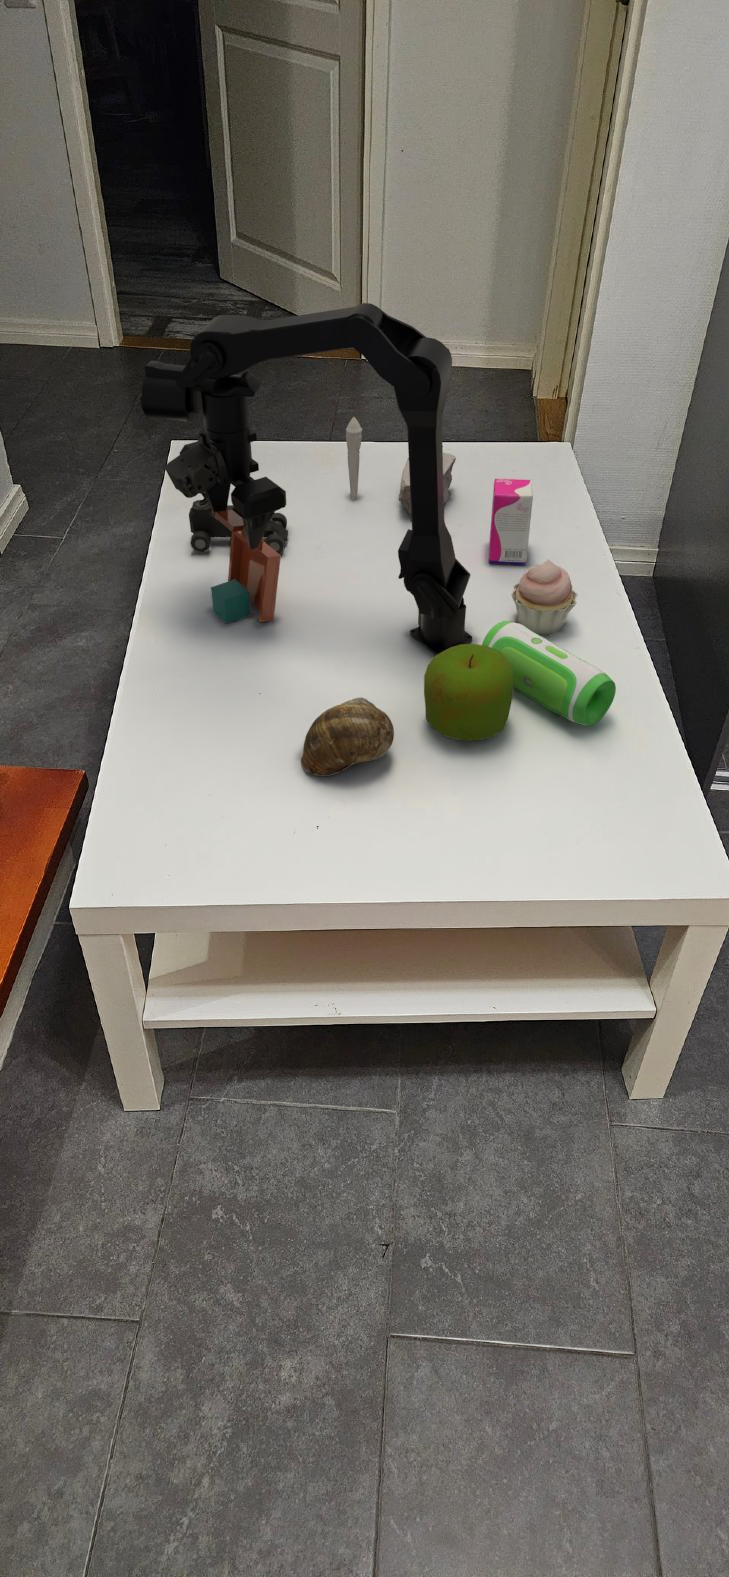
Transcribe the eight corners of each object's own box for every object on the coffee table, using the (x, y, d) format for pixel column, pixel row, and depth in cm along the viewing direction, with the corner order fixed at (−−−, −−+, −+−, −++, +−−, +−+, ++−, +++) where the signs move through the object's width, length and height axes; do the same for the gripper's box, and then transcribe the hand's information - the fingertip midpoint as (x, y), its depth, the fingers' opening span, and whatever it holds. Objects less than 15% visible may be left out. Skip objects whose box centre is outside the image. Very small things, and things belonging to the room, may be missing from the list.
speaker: (474, 676, 143) (478, 629, 138) (511, 655, 147) (517, 608, 142) (576, 739, 134) (584, 691, 129) (613, 715, 137) (623, 667, 132)
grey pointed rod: (351, 492, 182) (350, 412, 172) (365, 496, 181) (365, 415, 171) (343, 498, 180) (342, 417, 171) (357, 502, 179) (356, 421, 170)
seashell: (390, 732, 135) (391, 680, 129) (396, 781, 128) (397, 729, 123) (300, 735, 134) (297, 684, 129) (301, 785, 128) (298, 733, 122)
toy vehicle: (196, 529, 173) (190, 478, 167) (289, 529, 173) (286, 478, 167) (189, 555, 167) (183, 503, 161) (286, 555, 167) (283, 503, 161)
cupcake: (569, 604, 156) (578, 543, 149) (577, 641, 149) (587, 579, 143) (504, 604, 156) (511, 543, 150) (510, 641, 149) (517, 578, 143)
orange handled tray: (284, 529, 145) (242, 534, 142) (273, 620, 153) (233, 627, 150) (247, 499, 151) (206, 504, 148) (239, 589, 160) (200, 595, 156)
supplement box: (525, 546, 168) (533, 478, 161) (526, 566, 164) (533, 497, 156) (488, 545, 169) (494, 476, 161) (487, 564, 165) (493, 495, 157)
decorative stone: (449, 482, 185) (391, 481, 184) (453, 444, 180) (394, 443, 180) (459, 525, 174) (398, 524, 174) (463, 485, 170) (401, 485, 169)
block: (224, 600, 150) (226, 624, 153) (249, 591, 152) (251, 615, 154) (210, 587, 152) (213, 611, 155) (235, 578, 154) (237, 602, 157)
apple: (485, 690, 141) (491, 620, 134) (525, 738, 134) (534, 667, 127) (408, 710, 138) (410, 639, 131) (444, 761, 131) (448, 689, 123)
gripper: (137, 414, 139) (153, 522, 150) (205, 468, 128) (217, 581, 138) (213, 394, 144) (223, 501, 154) (285, 444, 133) (291, 556, 143)
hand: (236, 534), depth 147 cm, fingers open, 9 cm apart
